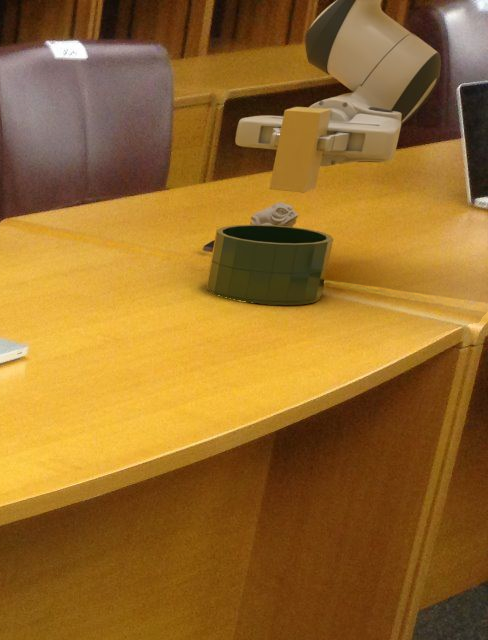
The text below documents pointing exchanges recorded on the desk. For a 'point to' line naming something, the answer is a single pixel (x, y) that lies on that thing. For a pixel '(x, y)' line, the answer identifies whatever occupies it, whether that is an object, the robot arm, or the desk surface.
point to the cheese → (299, 149)
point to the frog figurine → (275, 216)
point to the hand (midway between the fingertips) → (300, 142)
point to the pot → (269, 264)
